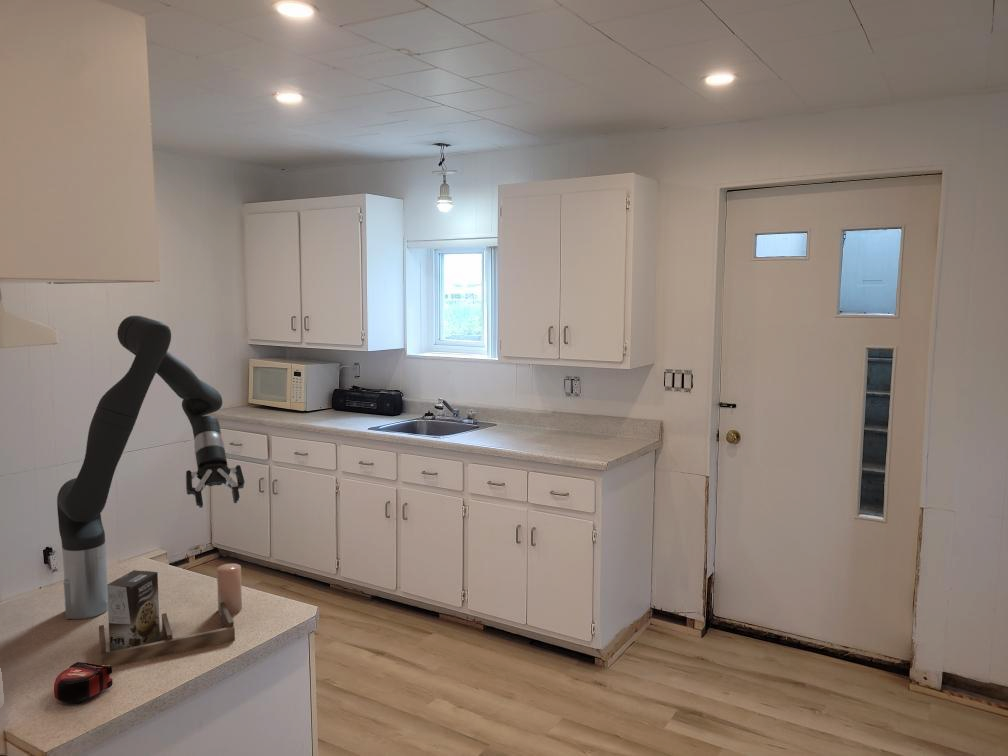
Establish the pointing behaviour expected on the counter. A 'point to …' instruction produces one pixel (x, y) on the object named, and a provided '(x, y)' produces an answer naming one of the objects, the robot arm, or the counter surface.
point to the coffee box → (133, 610)
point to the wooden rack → (168, 642)
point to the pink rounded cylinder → (229, 587)
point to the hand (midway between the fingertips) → (218, 504)
